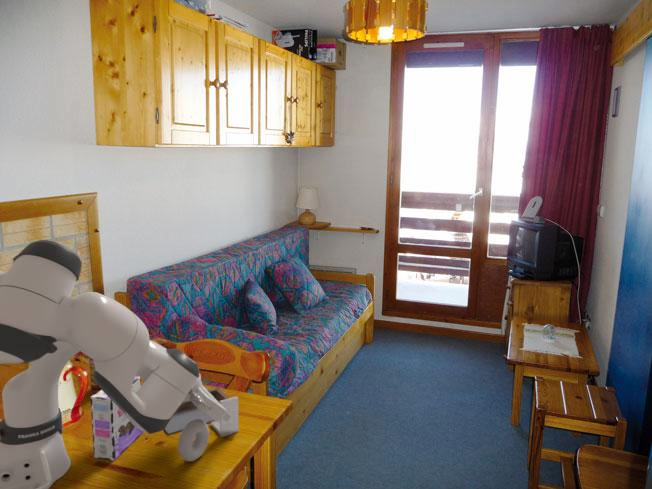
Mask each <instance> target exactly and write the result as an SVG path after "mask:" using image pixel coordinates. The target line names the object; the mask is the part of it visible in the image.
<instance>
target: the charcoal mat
mask: <svg viewBox="0 0 652 489" xmlns="http://www.w3.org/2000/svg"><path fill="white" fill-rule="evenodd" d="M195 419H201V420H203V421H204V422H205V423H206V424H207V425H208V424H209V423H210V424H211V422H213V421H214V420H213V419H211V418H210V417H208V416H207V415H206V414H204V413H203V412H202V411H200V410H199V409H198V408H197V407H193V408H189V409H186V410H182V411H178V412H175V413H174V414H173V416H172V418H171V420H170V421H169V423H168V424H167V426H166V428H165V429H164V430H163V431H165V432H166V433H167V435H169V436H170V435H172V434H176V433H179V432H180V433H181V432H182V430H183V429H184V427H185V426H186V425H187V424H188V423H189V422H190V421H193V420H195Z"/></svg>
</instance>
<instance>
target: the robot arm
mask: <svg viewBox="0 0 652 489" xmlns="http://www.w3.org/2000/svg"><path fill="white" fill-rule="evenodd" d="M12 261H13V263H12V264H11V266H10V268H9V269H8V270H7V271H2V270H0V365H1V364H28V363H29V367H28V368H27V369H26V370H24V371H22V372H19V373H18V374H16V375H14V376H13V377H12V378H10V379H9V380H8V381H7V382H6V383H5V384H4V387H3V389H2V392H1V393H2V394H1V396H2V407H3V416H4V417H3V419H2V418H0V489H50V488H51V486H52V485H53V484H54V482H56V481H57V480H59V479H60V478H62V477H63V476H64V475H65V474H66V473H67V472H68V470H69V469H70V467H71V465H72V462H71V458H70V457H69V455H68V454H69V453H68V452H67V449H66V446H65V442H64V438H63V429H64V424H63V423H64V422H63V414H62V412H61V408H60V407H59V406H60V405H59V381H60V377H61V374H62V372H63V370H64V367H65V366H66V365H67V364H68V362H69V361H70V360H71V359H72V358H73V357H75V356H76V355H77V354H79V353H82V354H84V355H85V356H87V357H88V358H89V357H90V358H91V359H93V361H94V365H95V371H94V376H93V377H94V380H95V382H96V383H97V385H98V386H99V387H100V388H101V389H102V390H103V392H104V393H105V394H106V395H107V396H108V397H109V398H110V399H111V400H112V401H113V402H114V403H115V404H116V405H117V406H118V407H119V408H120V409H121V410H122V411H123V412H124V413H125V414H126V415H127V417H128V419H129V420H130V422H131V423H132V424H133V425H134V426H135V427H136V428H138V429H139V430H141V431H143V433H146V434H150V435H151V434H155V433H156V434H157V433H159V432H161V431H165V430H164V429H165V428H166V426H167V424H168V423H169V421H170V420H171V418H172V416H173V414H174V413H175V412H176V410H177V409H178V407H179V406H180V405H181V403H183V402H189V401H191V402H192V403H193V404H194V405H195V406H196V407H197V408H198V409H199V410H200V411H202V412H203V413H204V414H206V415H207V416H208V417H210V418H211V419H213V420H214V421H216V422H219V421H220V420H221V419H223V420H225V421H228V420H229V419H230V417H231V415H230V414H229V413H227V410H226V409H225V408H224V407H223V406H222V405H221V404H220V403H219V402H218V401H217V400H216V399H215V398H214V397H213V396H212V395H211V394H210V393H209V392H208V391H207V390H208V389H207V388H206V387H205V386H204V385H203V382H202V375H201V373H200V367H199V364H198V362H197V361H196V360H194V359H192V358H191V357H188V356H187V355H186V354H185V353H184V352H183V351H182V350H181V349H180V348H166V347H164V346H162V345H161V344H159V343H157V342H155V341H154V340H151V339H150V333H149V329H148V328H147V326H146V324H145V323H144V322H143V321H142V319H141V318H140V317H139V316H138V315H136V313H135V312H133V311H131V309H130V308H128V307H127V306H125V305H124V304H122V303H121V302H119V301H117V300H115V299H114V298H112V297H109V296H106V295H104V294H102V293H99V292H96V291H84V292H81V293H78V294H76V295H74V296H73V297H71V296H72V294H73V291H74V288H75V285H76V282H77V281H79V279H80V276H81V272H82V266H83V262H82V260H81V258H80V257H79V255H78V254H77V253H76V252H75V251H74V250H72V249H71V248H69V247H67V246H66V245H64V244H62V243H59V242H56V241H52V240H48V239H40V240H36V241H32V242H30V243H29V244H27V245H26V246H25V247H24V248H23V249H22V250H21V251H20V252H19V253H18V254H17V255H15V256H14V257H13V258H12ZM135 376H139V377H140V378H141V379H142V381H144V382H143V383H142V384H141V387H140V389H139V390H138V391H137V392H136V393H134V392H133V390H132V384H133V381H134V378H135Z"/></svg>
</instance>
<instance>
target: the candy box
mask: <svg viewBox="0 0 652 489" xmlns="http://www.w3.org/2000/svg"><path fill="white" fill-rule="evenodd" d="M141 379H142V378H140V377H139V376H138V375H136V376H135V378H134V381H133V384H132V390H133V392H134V393H136V392H137V391H138V390H139V389H140V387H141V386H142V380H141ZM90 410H91V411H90V412H91V413H90V414H91V430H92V446H93V448H92V449H93V458H95V459H101V460H106V461H111V462H113V461H116V460H117V459H118V458H119V457H120V456H121V455H122V454H123V453H124V452H125V451H126V450H127V449H128V448H129V447H130V446H131V445H132V444H133V443H134V442H135V441H136V440H138V438H139V437H140V436H141V435H142V434H144V432H143V431H141V430H139V429H138V428H136V427H135V426H134V425H133V424H132V423H131V422H130V420H129V419H128V417H127V415H126V414H125V413H124V412H123V411H122V410H121V409H120V408H119V407H118V406H117V405H116V404H115V403H114V402H113V401H112V400H111V399H110V398H109V397H108V396H107V395H106V394H105V393H104V392H103V390H102V389H101V390H100V391H99V392H97V393H96V394H95V395H93V394H92V395H91V396H90Z"/></svg>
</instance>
